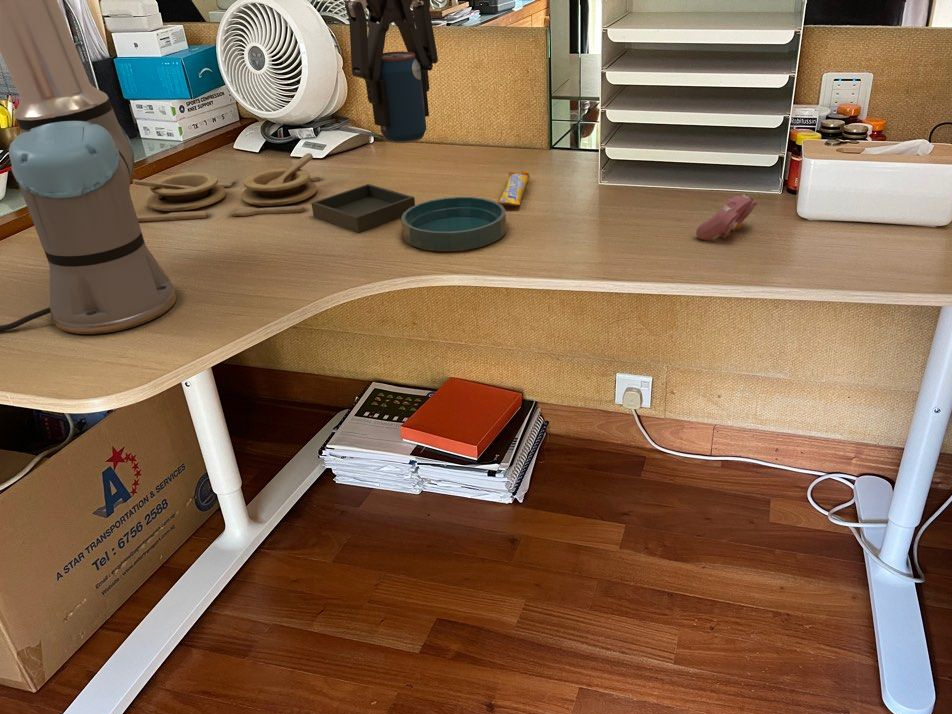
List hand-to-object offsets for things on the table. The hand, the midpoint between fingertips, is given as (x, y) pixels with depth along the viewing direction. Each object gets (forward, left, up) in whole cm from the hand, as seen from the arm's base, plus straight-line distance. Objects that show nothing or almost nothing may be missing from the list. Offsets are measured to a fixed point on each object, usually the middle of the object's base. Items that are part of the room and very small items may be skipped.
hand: (402, 119), depth 127 cm
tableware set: (-11, +37, -17) cm, 42 cm away
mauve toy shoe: (+26, -42, -17) cm, 52 cm away
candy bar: (+20, -3, -17) cm, 27 cm away
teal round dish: (+1, -8, -17) cm, 19 cm away
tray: (-2, +11, -17) cm, 20 cm away
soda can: (0, 0, -3) cm, 3 cm away
